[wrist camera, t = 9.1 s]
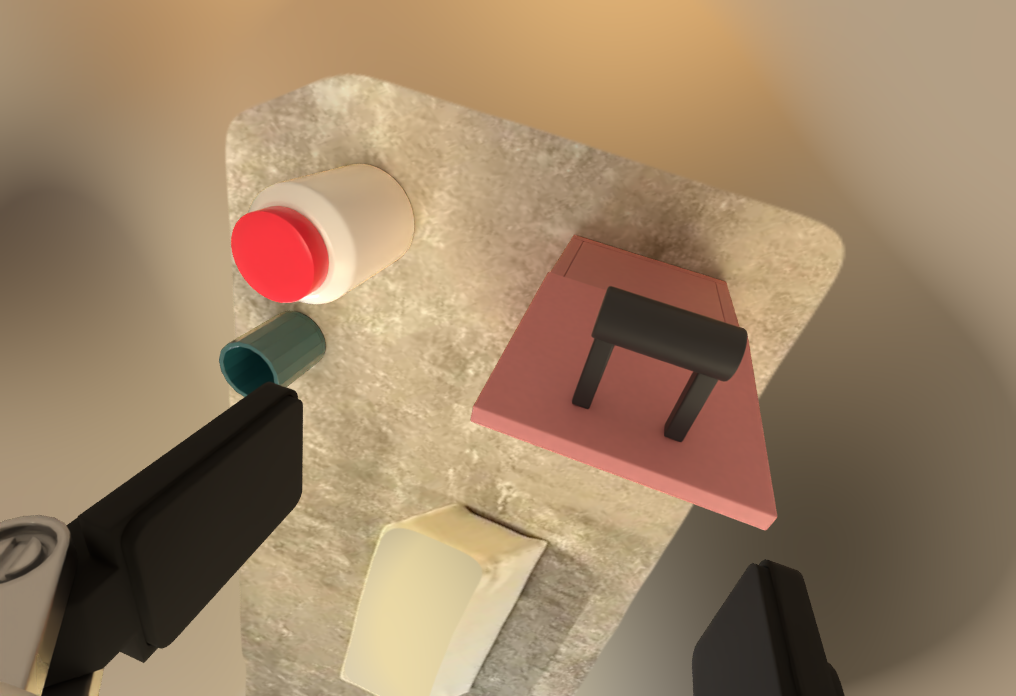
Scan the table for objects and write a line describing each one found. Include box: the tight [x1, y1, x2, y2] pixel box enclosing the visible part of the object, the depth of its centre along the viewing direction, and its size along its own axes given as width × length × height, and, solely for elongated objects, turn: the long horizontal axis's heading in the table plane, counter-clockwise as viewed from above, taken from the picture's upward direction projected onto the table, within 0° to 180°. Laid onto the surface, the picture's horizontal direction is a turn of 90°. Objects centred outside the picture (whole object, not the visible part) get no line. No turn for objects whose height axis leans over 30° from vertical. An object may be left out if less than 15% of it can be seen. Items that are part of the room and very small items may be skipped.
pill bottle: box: [231, 164, 414, 304], centre depth 34 cm, size 8×8×11 cm
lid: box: [471, 272, 777, 530], centre depth 20 cm, size 12×11×6 cm
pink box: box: [551, 235, 739, 327], centre depth 33 cm, size 11×11×9 cm
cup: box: [219, 311, 326, 397], centre depth 43 cm, size 5×5×6 cm
